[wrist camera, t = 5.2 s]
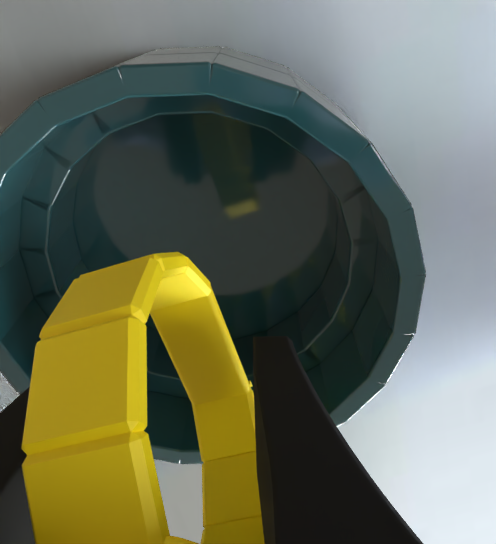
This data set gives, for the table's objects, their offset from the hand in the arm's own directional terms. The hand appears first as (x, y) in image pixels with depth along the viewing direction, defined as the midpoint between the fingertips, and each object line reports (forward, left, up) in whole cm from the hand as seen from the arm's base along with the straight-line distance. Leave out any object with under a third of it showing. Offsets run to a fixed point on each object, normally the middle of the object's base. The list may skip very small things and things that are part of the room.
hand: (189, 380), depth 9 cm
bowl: (0, 0, -8) cm, 8 cm away
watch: (0, 0, -2) cm, 2 cm away
